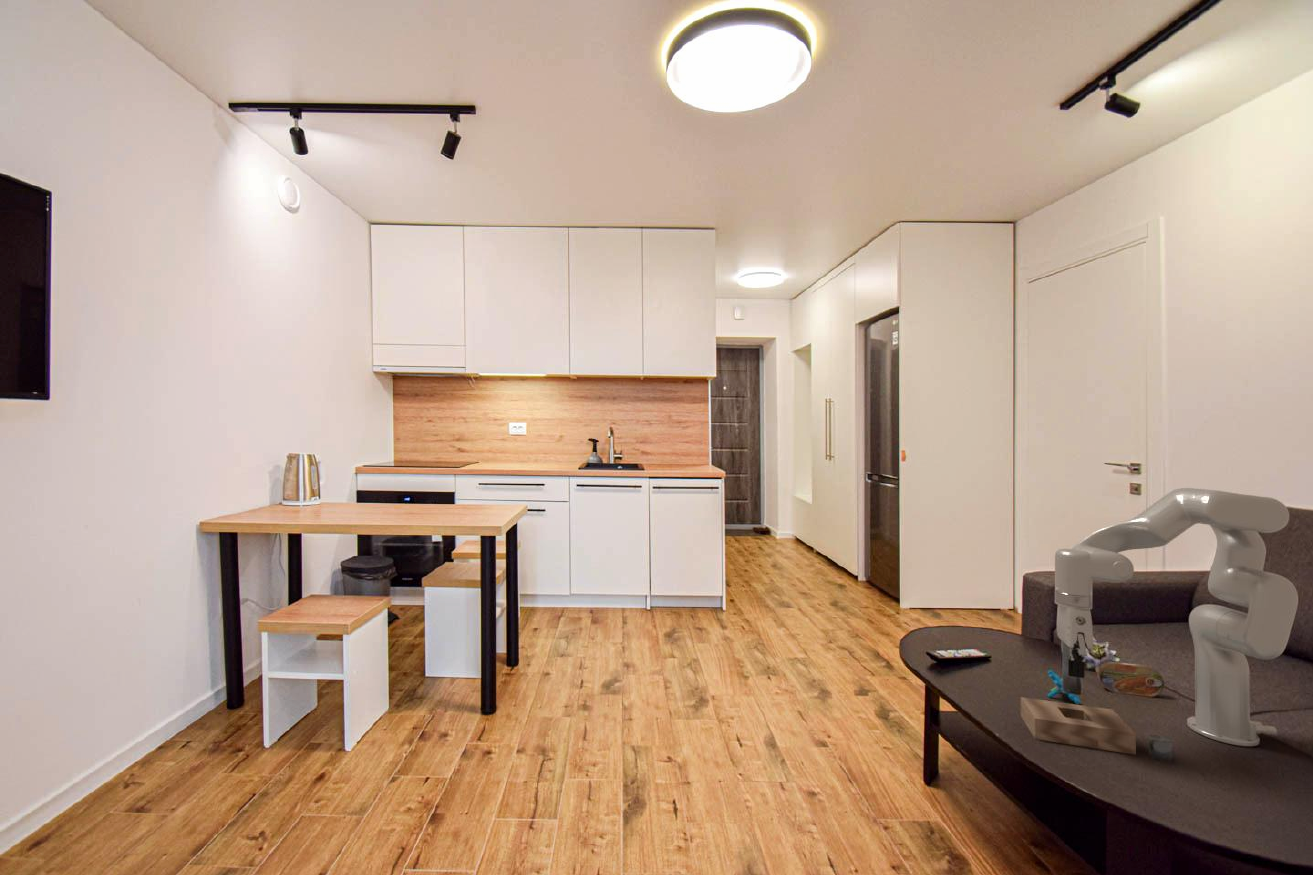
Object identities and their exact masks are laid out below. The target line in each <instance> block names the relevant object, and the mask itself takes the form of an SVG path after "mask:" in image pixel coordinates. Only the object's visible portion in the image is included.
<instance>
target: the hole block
mask: <svg viewBox="0 0 1313 875" xmlns="http://www.w3.org/2000/svg"><path fill="white" fill-rule="evenodd" d="M1020 717H1021V719H1022V720H1023V722H1024V723H1025V725H1026V727H1027V728H1028V730H1029V731H1030V733H1031V735H1032V737H1033V738H1034V740H1039V741H1047V742H1052V743H1059V744H1065V745H1071V746H1072V745H1073V746H1077V747H1078V746H1079V747H1084V748H1091V749H1096V750H1097V749H1098V750H1104V751H1110V752H1117V753H1121V754H1129V755H1137V744H1136V743H1137V742H1136V741H1137V740H1136V737H1137V733H1136V732H1135V731H1134V730H1133V729H1132V728H1131V727H1130V726H1129V725H1128V723H1126V722H1125V721H1124V720H1123V718H1121V717H1120V715H1119V714H1118V713H1116V712H1115V710H1113V709H1109V708H1103V707H1096V706H1088V705H1082V704H1076V703H1075V704H1074V703H1068V702H1066V703H1065V702H1059V701H1051V700H1045V699H1044V700H1043V699H1038V698H1032V697H1031V698H1029V697H1023V696H1020Z"/></svg>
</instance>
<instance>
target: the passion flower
mask: <svg viewBox="0 0 1313 875" xmlns="http://www.w3.org/2000/svg"><path fill="white" fill-rule="evenodd" d="M1109 645H1110V644H1109V642H1108V641H1106V642H1101V641H1100V642H1098V639H1095V637H1094V636H1093V650H1092V651H1089V650H1088V649H1086V652H1087V656H1085V667H1086V668H1087V670H1089V669H1093V670H1094V671H1095V673H1097V671H1098V668H1099V667H1100V665H1102V664H1103V663H1106V662H1119V663H1121V660H1120V658H1119V657H1118V656H1117V655H1116V654H1117V651H1116V650H1112V649H1110V648H1109Z"/></svg>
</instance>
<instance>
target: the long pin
mask: <svg viewBox="0 0 1313 875" xmlns="http://www.w3.org/2000/svg"><path fill="white" fill-rule="evenodd" d="M1074 647H1076V648H1078V645H1074ZM1061 652H1062V667H1061V670H1062V672H1061V673H1062V674H1061V679H1062V690H1063V691H1065V692H1067V693H1070V694H1074V695H1076V696H1081V695H1083V678H1079V677H1072V676H1069V675H1068V659H1070V651H1069V647H1068V646H1067V645H1066V644H1065V643H1064V642H1063V644H1062V651H1061ZM1075 652H1078V651H1076V650H1074V653H1075Z"/></svg>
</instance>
